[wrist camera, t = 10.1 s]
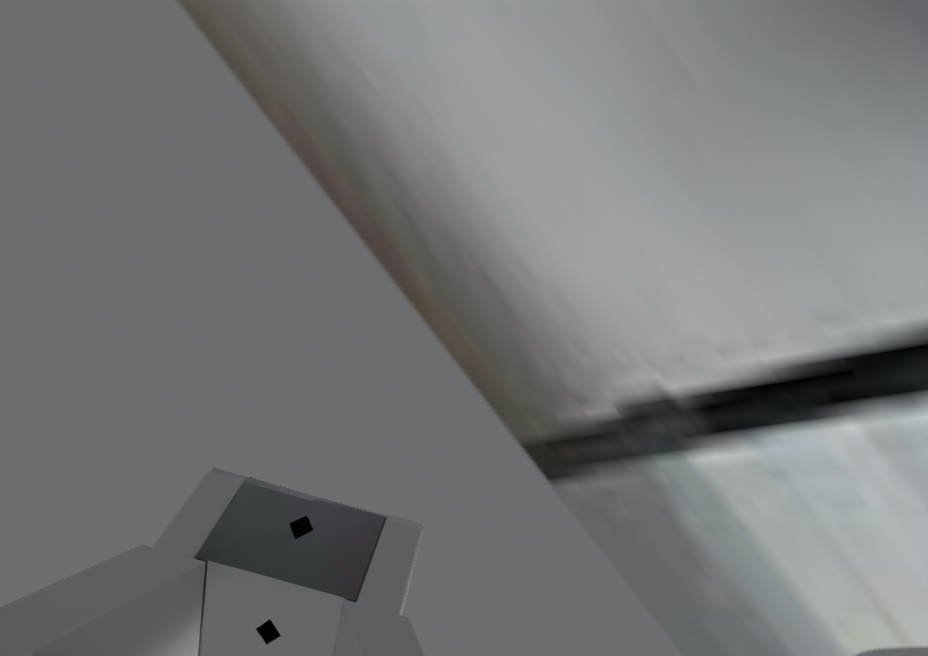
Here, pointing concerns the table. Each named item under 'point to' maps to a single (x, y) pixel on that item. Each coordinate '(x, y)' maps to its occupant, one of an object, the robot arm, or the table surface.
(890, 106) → the table surface
